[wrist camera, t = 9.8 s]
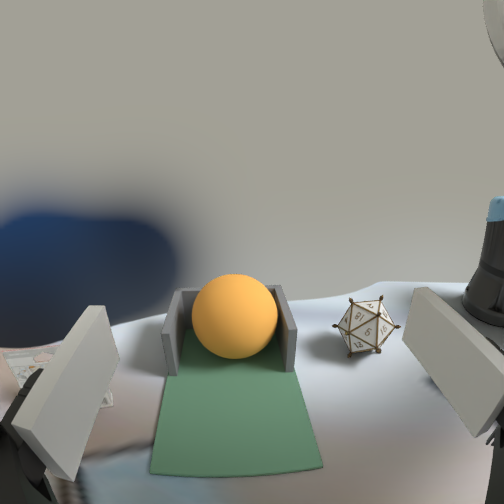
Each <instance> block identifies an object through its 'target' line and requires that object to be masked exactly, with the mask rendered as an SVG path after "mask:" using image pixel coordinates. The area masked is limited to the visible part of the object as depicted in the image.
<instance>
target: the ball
mask: <svg viewBox="0 0 504 504" xmlns="http://www.w3.org/2000/svg"><path fill="white" fill-rule="evenodd" d="M277 319H278V314H277V307H276V303H275V301H274V299H273V297H272V295H271V293H270V292H269V291H268V289H267V288H266V287H265V286H264V285H263V284H261V283H260V282H259V281H257V280H255V279H254V278H251V277H249V276H246V275H240V274H229V275H224V276H220V277H218V278H215V279H214V280H212V281H210V282H209V283H207V284H206V285H205V286H204V287H203V288H202V289H201V291H200V292H199V293H198V295H197V297H196V299H195V301H194V304H193V309H192V324H193V328H194V331H195V333H196V336H197V337H198V339H199V341H200V342H201V343H202V344H203V346H204V347H206V348H207V349H208V350H209V351H211V352H212V353H214V354H216V355H218V356H221V357H223V358H228V359H241V358H246V357H249V356H252V355H254V354H256V353H258V352H259V351H261V350H262V349H263V348H264V347H265V346H266V345H267V344H268V343H269V342H270V340H271V339H272V337H273V335H274V333H275V330H276V327H277Z"/></svg>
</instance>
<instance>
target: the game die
mask: <svg viewBox="0 0 504 504" xmlns="http://www.w3.org/2000/svg"><path fill="white" fill-rule="evenodd" d="M381 300H383V295H382V296H380V299H379V300H374V301H364V302H353V300H352V299H351V298H349V301H350V303H351V305H350V307H349V308H348V310H347V312H346V313H345V315H344V316H343V318H342V319H341V321H340V323H339V324H338V325H336V324H334V325H332V327H334V328H336V327H338V329H339V331H340V333H341V335H342V337H343V339H344V340H345V342H346V344H347V346H348V348H349V350H350V353H349V354H348V358H349V357H351V355H352V353H357V352H364V351H370V350H376V352H378V353H381V349H380V347H381V346H382V344H383V343H384V342H385V340H386V339H387V338H388V336H389V335H390V334H391V332H392V331H393V330H394V328H398V329H399V328H400V327H401V326H399V325H396V326H395V325H394V323H393V321H392V320H391V318H390V316H389V314H388V312H387V311H386V309H385V307H384V305H383V304H382V302H381Z"/></svg>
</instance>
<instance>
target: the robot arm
mask: <svg viewBox="0 0 504 504" xmlns="http://www.w3.org/2000/svg"><path fill="white" fill-rule="evenodd" d="M483 12H484V19H485V24H486V27H487V31H488V35H489V38H490V41H491V44H492V46H493V48H494V51H495V53H496V55H497V57H498V59H499V60H500V62H501V64H502V66H503V67H504V0H483ZM486 221H487V226H486V232H485V238H484V243H483V248H482V252H481V258H480V262H479V266H478V268H477V270H476V272H475V274H474V275H473V277H472V279H471V281H470V282H469V284H468V286H467V287H466V289H465V291H464V295H463V299H462V303H463V306H464V307H465V308H466V310H467V311H468V312H469V313H471V314H472V315H473V316H475V317H476V318H478V319H480V320H482V321H484V322H486V323H489V324H492V325H496V326H502V327H504V196H497V197H494V198H493V199H492V200H491V202H490V206H489V212H488V217H487V219H486ZM402 340H403V342H404V343H405V344H406V345H407V347H408V348H409V349H410V350H411V352H412V353H413V354H414V356H415V357H416V358H417V360H418V361H419V362H420V363H421V365H422V366H423V367H424V369H425V370H426V371H427V373H428V374H429V375H430V377H431V378H432V379H433V381H434V382H435V383H436V385H437V386H438V388H439V389H440V390H441V392H442V393H443V394H444V396H445V397H446V399H447V400H448V401H449V403H450V404H451V406H452V407H453V408H454V410H455V411H456V413H457V414H458V415H459V417H460V418H461V420H462V421H463V423H464V424H465V426H466V427H467V429H468V430H469V431H470V433H471V434H472V436H473V437H474V438H476V437H478V436H479V435H481V434H483V433H485V432H487V431H488V430H489V428H490V427H491V426H492V424H493V423H494V421H495V420H496V421H497V422H498V424H499V425H498V426H497V427H496V429H495V430H494V432H493V433H492V434H491V436H490V437H489V438H488V440H487V442H486V445H488V444H489V443H490V441H491V440H492V439H493V438H494V441H493V443H492V444H491V446H494V449H493V458H492V466H491V473H490V479H489V485H488V490H487V496H486V500H485V504H504V351H503V350H502V349H501V350H500V347H499V346H498V345H497V344H495V343H494V342H493V341H492V340H490V339H489V338H487V337H485V336H483V335H482V334H481V333H479V332H478V331H477V330H476V329H475V328H474V327H473V326H472V325H471V324H470V323H469V322H467V321H466V320H465V319H464V318H463V317H462V316H461V315H460V314H458V313H457V312H456V311H455V310H454V309H453V308H452V307H450V306H449V305H448V304H447V303H446V302H445V301H444V300H442V299H441V298H440V297H439V296H438V295H436V294H435V293H434V292H433V291H432V290H431V289H429V288H428V287H422V288H414V293H413V297H412V302H411V306H410V310H409V314H408V318H407V322H406V326H405V330H404V334H403V337H402ZM119 360H120V357H119V354H118V351H117V348H116V345H115V341H114V338H113V335H112V331H111V328H110V324H109V321H108V317H107V313H106V310H105V306H88V307H87V309H86V310H85V311H84V313H83V314H82V315H81V317H80V318H79V319H78V321H77V322H76V324H75V325H74V326H73V328H72V329H71V330H70V332H69V333H68V335H67V336H66V338H65V339H64V340H63V342H62V343H61V345H60V346H59V347H58V349H57V350H56V352H55V353H54V355H53V356H52V358H51V359H50V361H49V362H48V364H47V365H46V367H45V368H44V369H42V368H39V369H37V370H36V371H35V372H34V373H33V374H31V375H30V376H29V377H28V379H27V380H26V382H25V383H24V385H23V388H21V390H20V391H19V393H18V396H16V397H15V399H14V401H13V402H12V404H11V406H10V407H9V409H8V411H7V412H6V414H5V416H4V417H3V419H2V421H1V422H0V504H58V502H57V500H56V497H55V495H54V493H53V491H52V488H51V486H50V484H49V481H48V479H47V478H46V476H45V475H44V472H45V469H46V467H47V468H48V470H49V471H50V472H51V473H52V474H53V475H54V476H56V477H59V478H62V479H65V480H69V481H72V482H74V480H75V477H76V474H77V471H78V468H79V465H80V462H81V459H82V456H83V453H84V450H85V447H86V444H87V441H88V438H89V436H90V433H91V430H92V427H93V425H94V422H95V419H96V417H97V414H98V411H99V409H100V406H101V404H102V401H103V399H104V396H105V394H106V391H107V389H108V386H109V384H110V381H111V379H112V376H113V374H114V372H115V369H116V367H117V364H118V362H119Z"/></svg>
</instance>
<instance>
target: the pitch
mask: <svg viewBox="0 0 504 504" xmlns="http://www.w3.org/2000/svg"><path fill="white" fill-rule="evenodd" d="M265 287H266V288H267V289H268V291H269V292H270V293H271V295H272V297H273V299H274V301H275V303H276V307H277V314H278V319H277V327H276V330H275V333H274V335H273V337H272V339H271V340H270V342H269V343H268V344H267V345H266V346H265V347H264V348H263V349H262V350H261V351H259V352H258V353H256V354H254V355H252V356H249V357H246V358H241V359H228V358H223V357H221V356H218V355H216V354H214V353H212V352H211V351H209V350H208V349H207V348H206V347H204V346H203V344H202V343H201V342H200V341H199V339H198V337H197V336H196V333H195V331H194V328H193V324H192V309H193V304H194V301H195V299H196V297H197V295H198V293H199V292H200V291H201V289H202V288H176V289H175V292H174V295H173V298H172V301H171V304H170V307H169V310H168V313H167V316H166V319H165V322H164V325H163V328H162V332H161V337H162V342H163V347H164V352H165V357H166V362H167V367H168V371H169V372H168V377H167V381H166V386H165V391H164V396H163V400H162V405H161V410H160V416H159V421H158V426H157V431H156V437H155V442H154V448H153V454H152V459H151V465H150V474H156V475H168V476H183V477H248V476H263V475H274V474H284V473H292V472H300V471H306V470H313V469H319V468H323V464H322V460H321V457H320V453H319V450H318V447H317V443H316V440H315V436H314V433H313V430H312V426H311V423H310V419H309V416H308V413H307V409H306V406H305V402H304V399H303V396H302V392H301V389H300V386H299V382H298V379H297V376H296V372H295V369H294V361H295V351H296V340H297V327H296V324H295V321H294V319H293V316H292V314H291V311H290V308H289V306H288V303H287V300H286V298H285V295H284V293H283V290H282V287H281V285H269V286H265Z"/></svg>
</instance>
